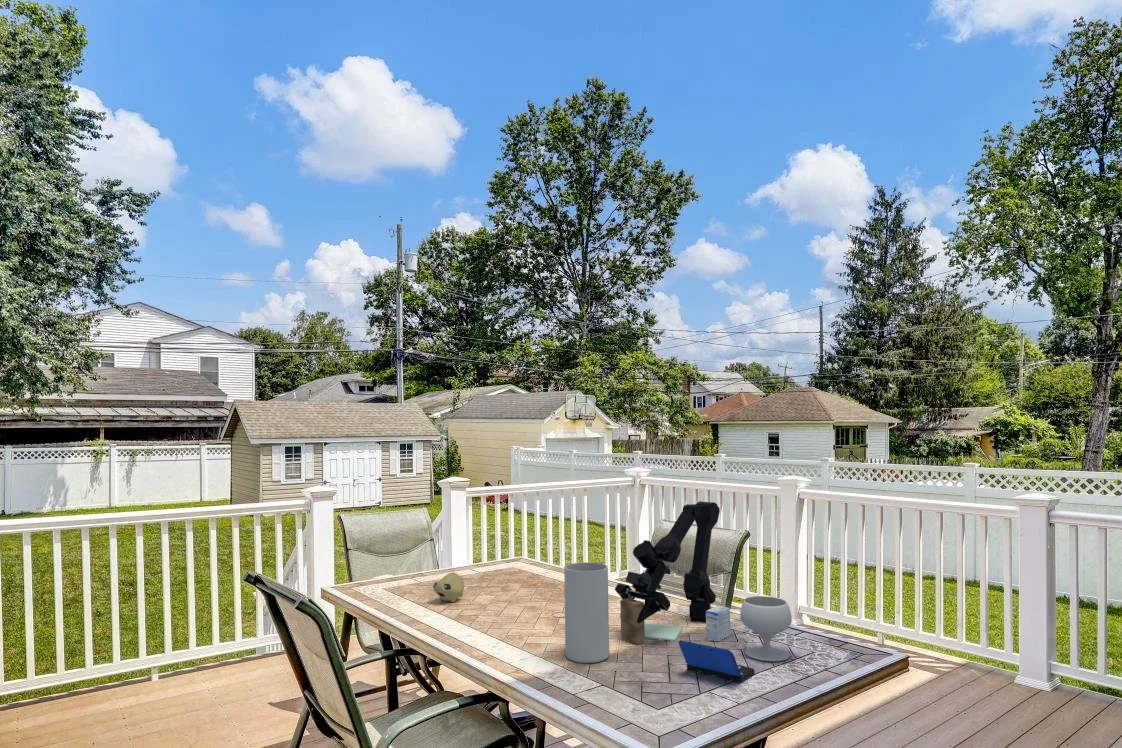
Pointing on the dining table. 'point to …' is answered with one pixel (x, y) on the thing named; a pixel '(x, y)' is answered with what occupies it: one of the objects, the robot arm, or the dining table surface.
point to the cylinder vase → (586, 612)
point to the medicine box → (717, 623)
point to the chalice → (766, 624)
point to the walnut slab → (632, 622)
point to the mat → (662, 632)
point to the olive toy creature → (449, 587)
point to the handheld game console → (713, 662)
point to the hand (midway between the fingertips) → (629, 620)
